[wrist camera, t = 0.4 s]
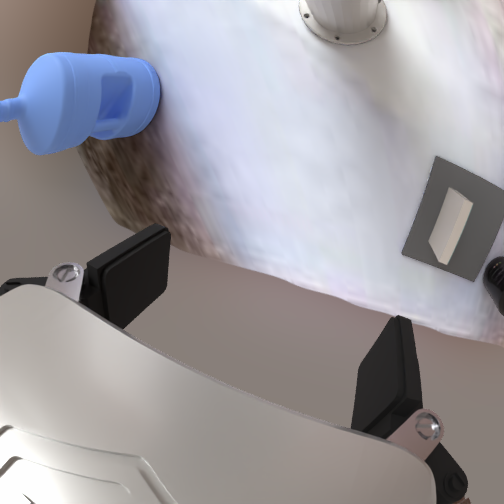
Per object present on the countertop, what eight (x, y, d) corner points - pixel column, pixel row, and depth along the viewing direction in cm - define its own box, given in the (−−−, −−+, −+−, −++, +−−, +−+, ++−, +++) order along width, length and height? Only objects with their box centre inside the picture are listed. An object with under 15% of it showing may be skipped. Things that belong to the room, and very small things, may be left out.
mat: (435, 155, 33) (437, 156, 32) (510, 194, 30) (511, 195, 29) (401, 252, 41) (401, 254, 40) (472, 280, 37) (473, 281, 37)
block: (448, 187, 33) (464, 199, 27) (457, 190, 33) (474, 203, 27) (428, 241, 38) (438, 261, 32) (436, 244, 37) (448, 265, 31)
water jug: (94, 99, 47) (-24, 119, 24) (137, 43, 39) (4, 33, 16) (127, 152, 50) (0, 193, 26) (177, 96, 42) (28, 103, 18)
